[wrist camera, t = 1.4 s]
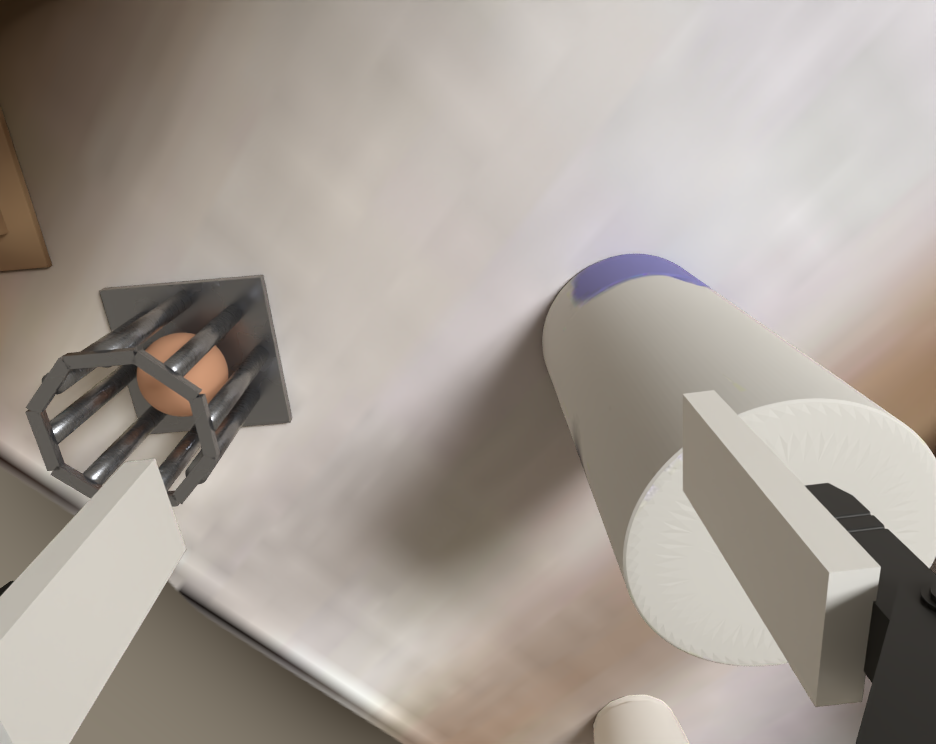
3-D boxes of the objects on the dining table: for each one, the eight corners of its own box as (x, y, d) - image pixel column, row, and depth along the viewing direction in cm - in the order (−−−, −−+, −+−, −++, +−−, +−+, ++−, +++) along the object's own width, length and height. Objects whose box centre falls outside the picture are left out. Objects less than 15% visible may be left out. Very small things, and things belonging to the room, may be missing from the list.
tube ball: (149, 325, 37) (109, 353, 33) (229, 318, 37) (200, 346, 33) (169, 398, 39) (134, 434, 34) (246, 392, 39) (220, 427, 34)
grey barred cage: (104, 287, 37) (-13, 348, 27) (263, 274, 37) (199, 331, 27) (146, 429, 40) (55, 526, 31) (292, 418, 40) (243, 511, 31)
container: (520, 392, 40) (580, 641, 21) (573, 232, 36) (700, 364, 18) (672, 428, 41) (855, 695, 22) (737, 278, 37) (1018, 446, 19)
